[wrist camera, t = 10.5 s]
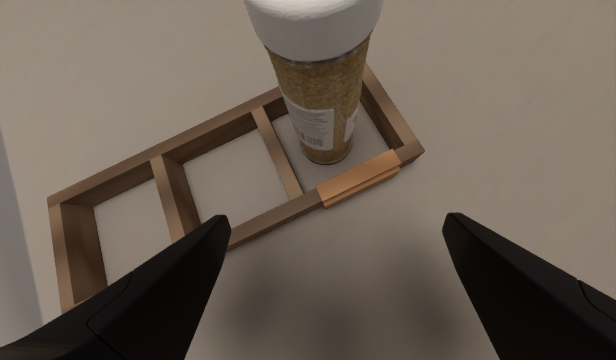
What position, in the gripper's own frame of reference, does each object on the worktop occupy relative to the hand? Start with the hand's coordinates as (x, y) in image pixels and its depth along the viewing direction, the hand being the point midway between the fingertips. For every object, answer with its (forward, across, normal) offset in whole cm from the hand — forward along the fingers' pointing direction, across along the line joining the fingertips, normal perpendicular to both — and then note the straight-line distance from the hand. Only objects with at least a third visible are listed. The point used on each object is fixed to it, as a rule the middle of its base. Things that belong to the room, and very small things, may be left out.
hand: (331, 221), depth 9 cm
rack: (+9, +8, +3) cm, 12 cm away
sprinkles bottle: (+11, 0, +1) cm, 11 cm away
